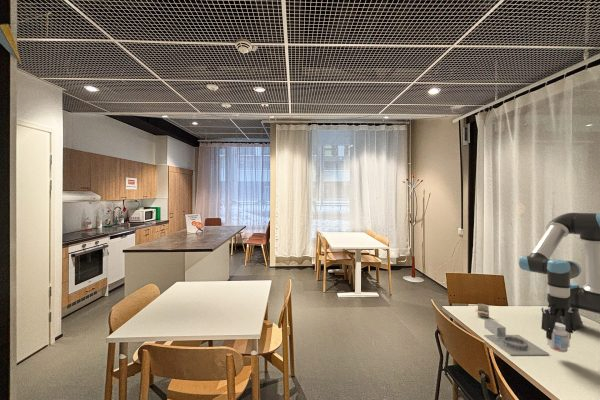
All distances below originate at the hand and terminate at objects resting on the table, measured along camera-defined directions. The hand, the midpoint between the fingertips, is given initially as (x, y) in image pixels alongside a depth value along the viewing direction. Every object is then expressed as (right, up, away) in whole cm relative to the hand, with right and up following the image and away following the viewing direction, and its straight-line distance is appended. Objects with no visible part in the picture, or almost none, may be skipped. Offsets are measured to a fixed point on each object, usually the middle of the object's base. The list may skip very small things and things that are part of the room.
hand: (558, 345), depth 127 cm
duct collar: (-11, -5, +17) cm, 21 cm away
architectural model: (-4, -6, +45) cm, 46 cm away
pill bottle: (0, -2, 0) cm, 2 cm away
